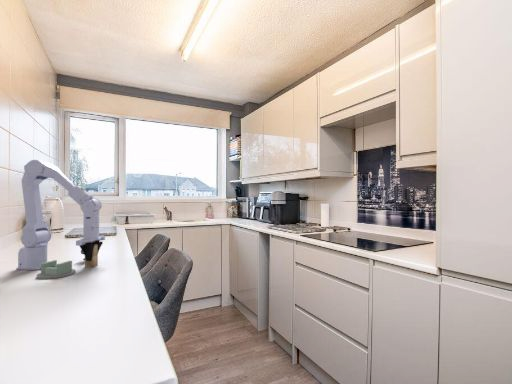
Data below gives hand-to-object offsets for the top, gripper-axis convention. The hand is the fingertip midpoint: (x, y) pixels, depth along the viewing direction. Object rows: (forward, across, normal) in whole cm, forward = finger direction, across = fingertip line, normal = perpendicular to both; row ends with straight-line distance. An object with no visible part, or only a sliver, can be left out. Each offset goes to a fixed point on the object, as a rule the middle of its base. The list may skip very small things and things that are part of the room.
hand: (91, 259), depth 118 cm
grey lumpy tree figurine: (+3, +9, +9) cm, 13 cm away
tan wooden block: (+3, 0, 0) cm, 3 cm away
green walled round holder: (+3, -13, +4) cm, 14 cm away
